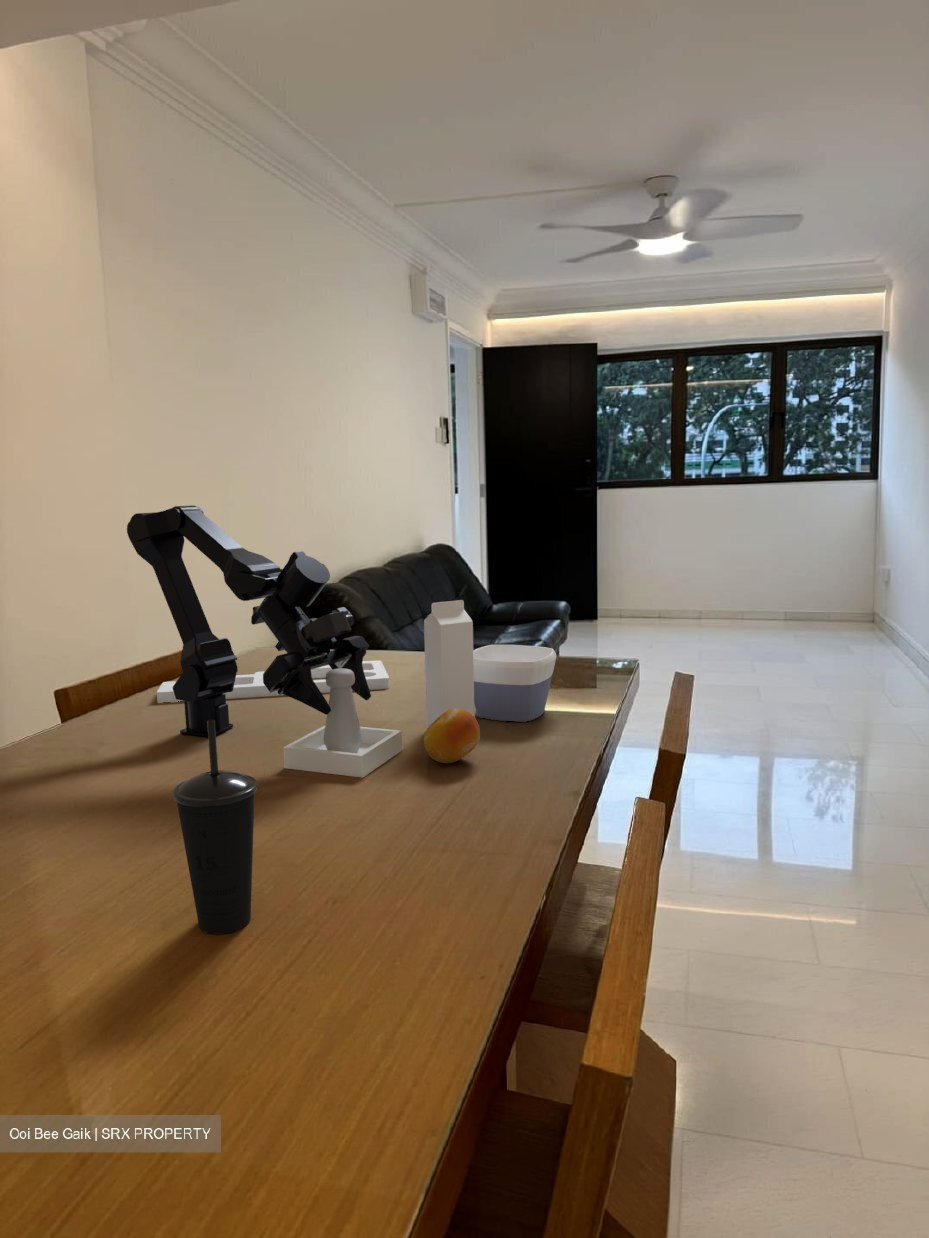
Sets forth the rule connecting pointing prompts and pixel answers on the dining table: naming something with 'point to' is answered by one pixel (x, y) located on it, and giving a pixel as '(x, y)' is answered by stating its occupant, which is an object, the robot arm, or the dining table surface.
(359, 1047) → the dining table surface
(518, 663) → the bowl
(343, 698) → the salt shaker
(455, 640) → the milk
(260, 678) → the holder
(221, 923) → the drinking cup
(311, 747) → the dish
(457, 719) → the fruit
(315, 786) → the dining table surface
